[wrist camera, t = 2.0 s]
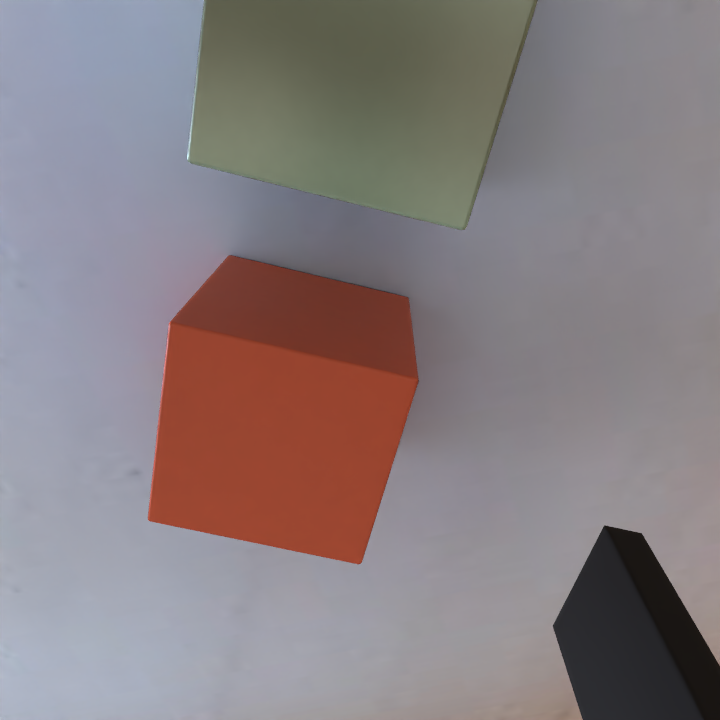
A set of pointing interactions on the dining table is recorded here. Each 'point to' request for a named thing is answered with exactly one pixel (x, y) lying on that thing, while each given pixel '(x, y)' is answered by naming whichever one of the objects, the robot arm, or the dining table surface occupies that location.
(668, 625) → the robot arm
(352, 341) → the block
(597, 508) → the dining table surface
